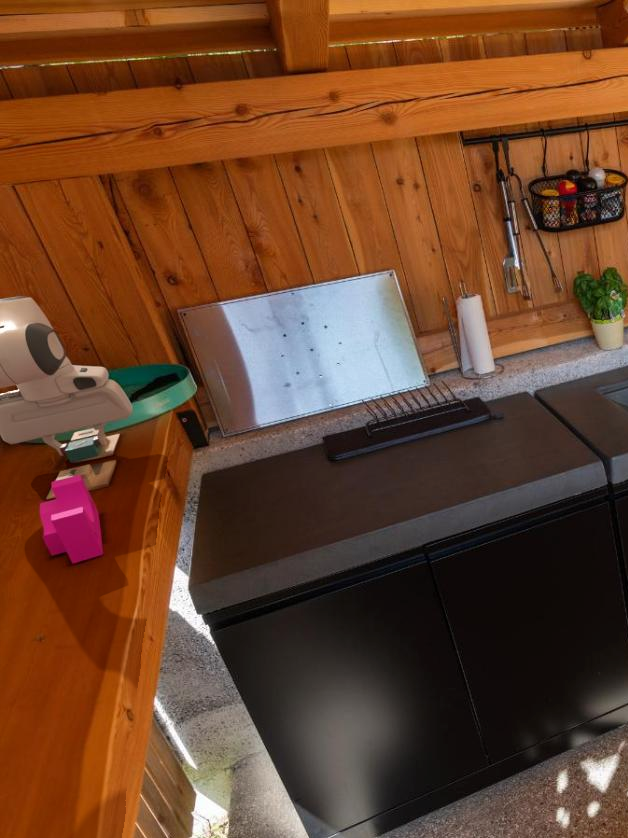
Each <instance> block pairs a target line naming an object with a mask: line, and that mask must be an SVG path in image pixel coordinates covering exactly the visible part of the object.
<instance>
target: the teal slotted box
mask: <svg viewBox="0 0 628 838" xmlns="http://www.w3.org/2000/svg"><path fill="white" fill-rule="evenodd" d="M95 437H96V436H95ZM93 439H94V437H91V438H87V439H82V440H78V441H74V442H71V441H69V442H68V443H67V444H68V446H67V448H66V450H65V453H66V455H65V456H67V458H68V460H69V462H70V463H74V462H75V463H77V462H76V461H80V460H84V459H88V458H92V457H96V456H99V454H100V451H101V449H102V447H98V448H97V447H96V445H95V443H94V442H93Z"/></svg>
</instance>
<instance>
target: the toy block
mask: <svg viewBox="0 0 628 838" xmlns="http://www.w3.org/2000/svg"><path fill="white" fill-rule="evenodd" d="M51 488H52V490H53V493H54V495H55V497H56V498H54V499H50V500H47V501H44V502H40V503H39V516H40V519H41V523H42V527H43V535H42V536H41V537H42V539H43V541H44V544H45V545H46V548H47V549H48V551H49V553H50V555H51V556H52V557H53V556H56V555H60V554H63V553H67V555H68V557H69V559H70V561H71V563H72V564H76V563H79V562H83V561H86V560H90V559H93V558H97V557H101V556H103V555H104V549H103V539H102V531H101V530H102V529H101V522H100V514H99V511H98V509H97V506H96V504H95V503H94V500H93V498H92V496H91V494H90V491H88V489H87V487H86V485H85V483H84V481H83V479H82V476H81V475H77V476H73V477H69V478H65V479H61V480H57V481H55V480H53V481H51Z"/></svg>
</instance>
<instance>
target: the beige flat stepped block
mask: <svg viewBox="0 0 628 838" xmlns="http://www.w3.org/2000/svg"><path fill="white" fill-rule="evenodd" d="M98 432H99V429H98V430H95V429H94V428H93V427H92V428H86V429H84V430H79V431H75V432H74V433H73V435H72V437H71V439H70V442H74V441H78V440H82V439H87V438H91V437H95V436H98ZM120 436H121V433H116V434H112V435H108V436H107V435H106V433H105V432H104V434H103V437H104V439H105V440H106V446H102V449H101V451H100V454H99V456H96V457H92V458H88V459H84V460H80V461H76V462H73V463H81V462H84V461H91V460H95V459H100V458H105V457H106V458H107V457H110V456H114V454H115V451H116V448H117V445H118V442H119V439H120Z"/></svg>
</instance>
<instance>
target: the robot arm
mask: <svg viewBox="0 0 628 838" xmlns="http://www.w3.org/2000/svg"><path fill="white" fill-rule="evenodd" d="M13 386H16V387H17V389H16V390H11V391H7V392H4V393H0V437H1V439H2V441H4V442H5V443H7V444H10V445H15V444H20V443H25V442H29V441H33V440H39V439H42V441H43V442H44V444H46V445H48V446H50V447H51V448H53V449H56V451H57V453H58V454H59V456H60V457H64V456H67V455H66V453H65V450H66V448H67V446H68V444H69V443H61V442H59V441H58V440H56V439H55V437H56V435H59V434H65V433H69V432H73V431H77V430H81V429H87V428H90V427H92V428H94V429H95V430H98V429H99V432H98V436H96V437H94V439H93V442H94V443H95V445H96V447H97V448H98V447H102V446H106V440H105V439H104V437H103V434H104V433H105V429H106V424H108V423H111V422H115V421H121V420H125V419H128V418H130V417H131V415H132V413H133V410H134V408H133V405H132V402H131V401H130V399H129V397H128V396H127V394H126V392H125V391H124V389H123V387H121V385H120V384H119V383H118V382H116V381H115V380H114V379H110V378H109V371H108V369H107V368H106V367H104V366H93V365H75V364H72V362H71V360H70V359H69V358H68V356H67V351H66V348H65V346H64V343H63V342H62V340H61V338H60V336H59V334H58V333H57V331H56V330H55V329H54V328H53V326H52V324H51V322H50V321H49V319H48V317H47V316H46V315H45V313H44V312H43V310H42V309H41V307H40V306H39V304H37V302H36V301H35V300H34V299H33V298H32V297H30V296H26V295H19V296H18V295H17V296H13V297H5V298H0V389H4V388H9V387H13Z"/></svg>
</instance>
